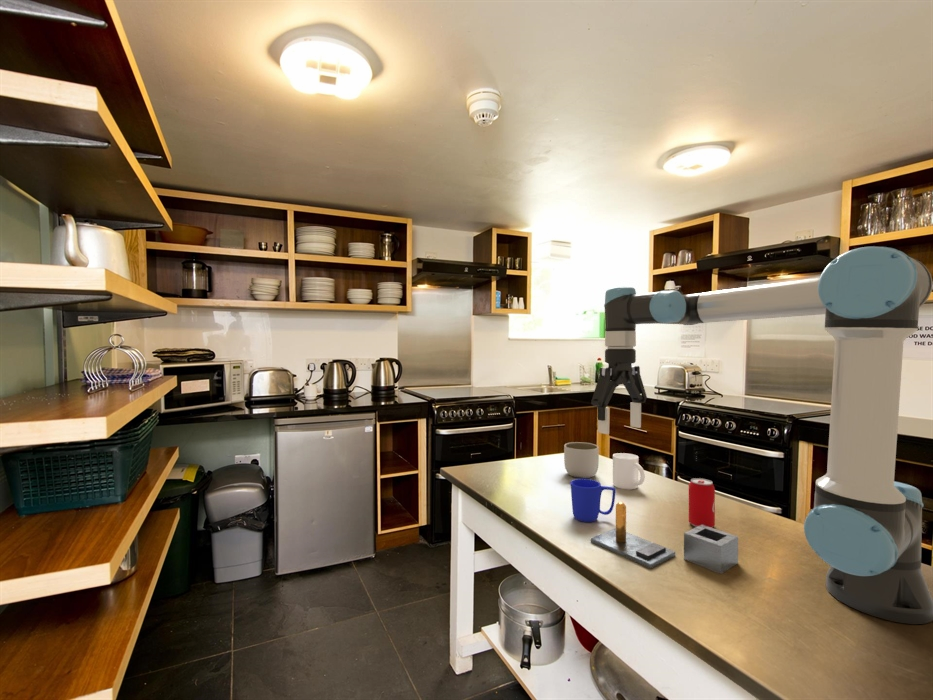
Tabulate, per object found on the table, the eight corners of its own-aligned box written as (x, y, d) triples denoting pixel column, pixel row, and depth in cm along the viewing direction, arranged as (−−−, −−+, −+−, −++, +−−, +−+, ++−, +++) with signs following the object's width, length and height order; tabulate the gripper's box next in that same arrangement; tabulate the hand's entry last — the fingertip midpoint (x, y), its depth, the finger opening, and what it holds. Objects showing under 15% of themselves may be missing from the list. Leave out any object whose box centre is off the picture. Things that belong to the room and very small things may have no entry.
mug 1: (617, 526, 119) (617, 489, 119) (570, 523, 121) (570, 486, 121) (613, 515, 127) (613, 480, 127) (570, 512, 129) (570, 477, 129)
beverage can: (717, 525, 120) (717, 480, 119) (711, 532, 115) (711, 486, 115) (692, 519, 124) (692, 476, 124) (685, 525, 119) (685, 481, 119)
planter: (557, 475, 165) (557, 445, 165) (576, 468, 174) (576, 440, 174) (586, 482, 156) (586, 451, 156) (605, 475, 165) (605, 445, 165)
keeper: (675, 555, 103) (675, 511, 102) (650, 568, 97) (650, 522, 97) (615, 532, 116) (616, 492, 115) (590, 542, 110) (590, 501, 110)
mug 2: (652, 490, 147) (653, 459, 147) (634, 494, 144) (634, 463, 143) (625, 480, 158) (625, 452, 158) (607, 484, 154) (607, 454, 154)
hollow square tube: (738, 563, 99) (738, 536, 99) (720, 574, 95) (721, 546, 94) (701, 549, 106) (701, 524, 106) (683, 559, 101) (684, 533, 101)
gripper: (635, 347, 125) (635, 422, 126) (576, 348, 111) (576, 433, 111) (660, 347, 119) (660, 426, 119) (601, 348, 105) (601, 438, 105)
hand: (620, 430), depth 115 cm, fingers open, 13 cm apart
